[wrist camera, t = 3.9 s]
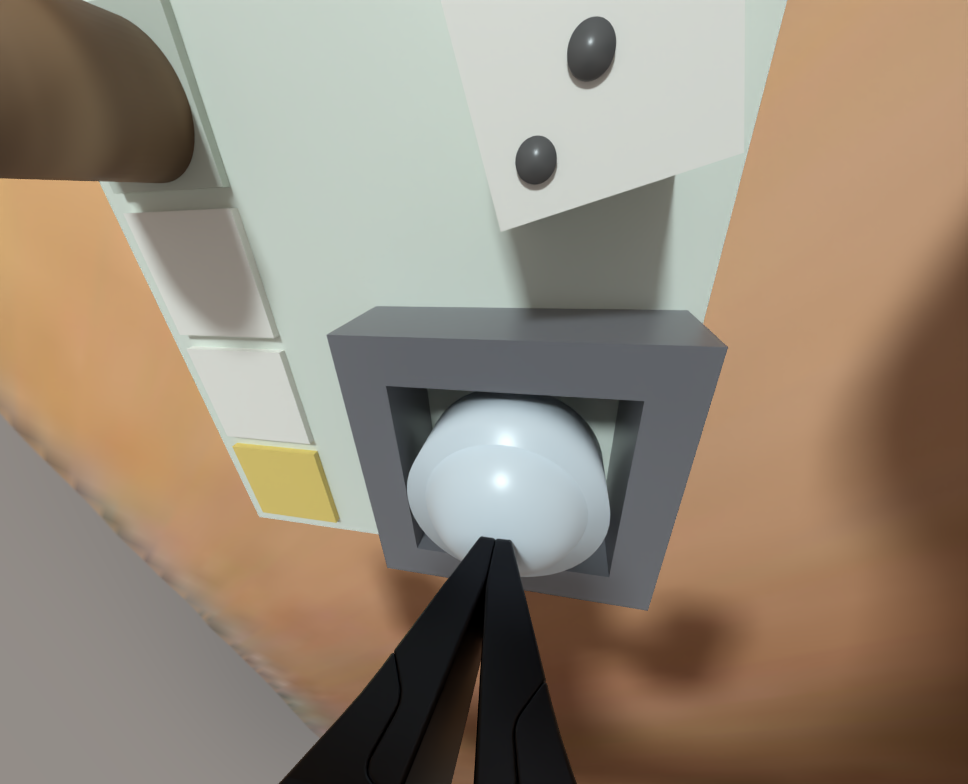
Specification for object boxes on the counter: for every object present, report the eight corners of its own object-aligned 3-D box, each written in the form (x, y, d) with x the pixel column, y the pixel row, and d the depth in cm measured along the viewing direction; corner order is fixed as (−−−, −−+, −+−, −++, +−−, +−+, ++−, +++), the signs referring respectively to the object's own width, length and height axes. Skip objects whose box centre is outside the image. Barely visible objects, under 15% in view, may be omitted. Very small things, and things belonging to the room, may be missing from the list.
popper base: (688, 310, 10) (728, 347, 8) (633, 540, 15) (647, 610, 13) (375, 306, 12) (326, 334, 10) (414, 512, 17) (387, 567, 15)
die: (661, -47, 7) (750, -271, 4) (675, 169, 9) (746, 152, 5) (481, 44, 9) (423, -63, 5) (522, 220, 10) (500, 232, 7)
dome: (608, 368, 12) (636, 478, 7) (590, 500, 15) (601, 640, 10) (436, 360, 13) (365, 452, 8) (450, 484, 16) (403, 603, 11)
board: (827, -245, 6) (882, -335, 5) (634, 553, 17) (639, 578, 16) (27, -49, 10) (-38, -79, 9) (271, 503, 21) (255, 520, 20)
